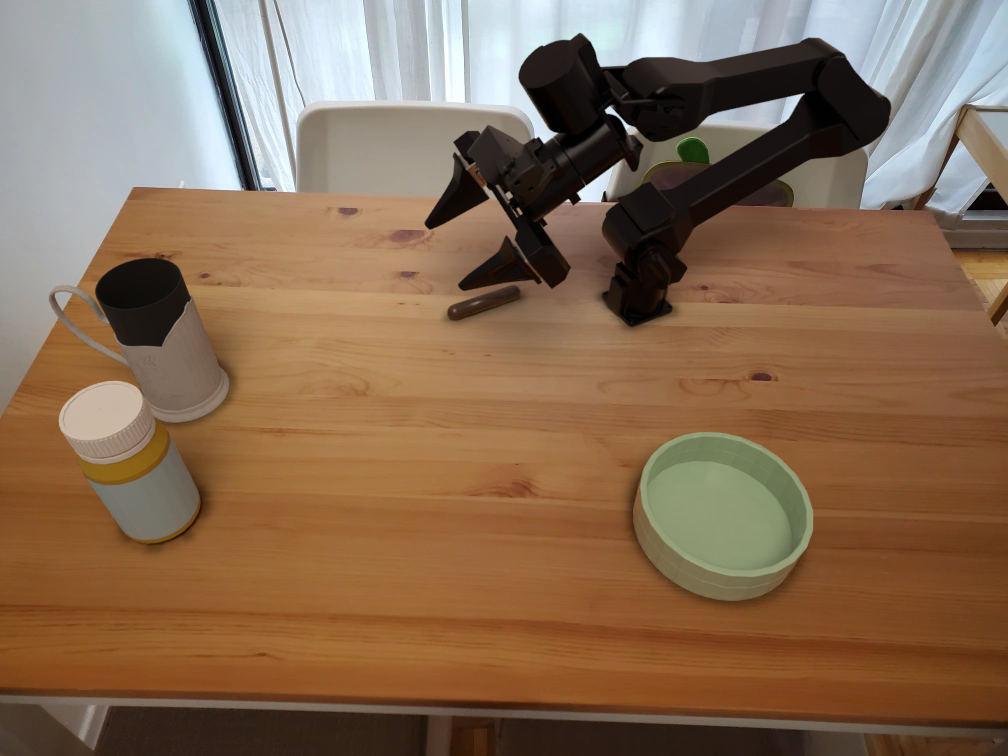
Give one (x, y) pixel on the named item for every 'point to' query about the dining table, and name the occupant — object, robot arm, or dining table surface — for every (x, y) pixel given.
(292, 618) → the dining table surface
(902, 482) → the dining table surface
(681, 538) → the bowl
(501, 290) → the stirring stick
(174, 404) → the glass holder
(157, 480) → the bottle
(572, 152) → the robot arm
